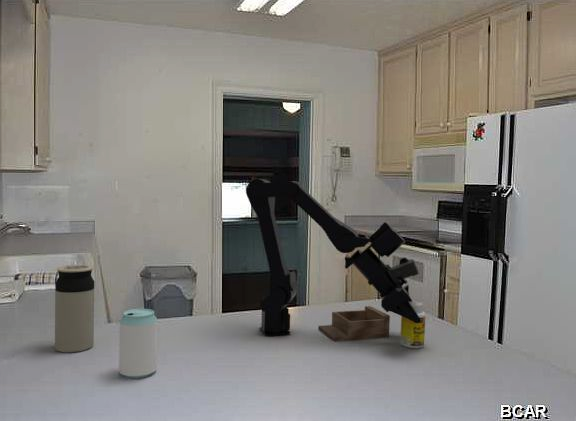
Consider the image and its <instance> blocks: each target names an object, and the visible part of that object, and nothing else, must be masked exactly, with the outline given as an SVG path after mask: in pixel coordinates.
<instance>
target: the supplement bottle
mask: <svg viewBox="0 0 576 421" xmlns="http://www.w3.org/2000/svg"><path fill="white" fill-rule="evenodd" d="M410 304H411V305H412V307H413V308H414V310H415V311H416V313H417V315H418V316H419V318H420V319H421V322H419V323H415V322H413V321H411V320H409V319H407V318H405V317H403V316H400V318H401V320H400V341H399V342H400V344H401V346H403V347H406V348H408V349H422V348H423V347H424V345H425V332H426V313H425V312H424V311H423V303H421V302H419V301H413V302H410Z"/></svg>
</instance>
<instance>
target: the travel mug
mask: <svg viewBox="0 0 576 421" xmlns="http://www.w3.org/2000/svg"><path fill="white" fill-rule="evenodd" d="M93 270H94V266H92V265H88V264H87V265H86V264H71V265H70V264H67V265H62V266H58V267H57V268H56V271H57V274H58V278H56V281H55V283H54V285H55V286H54V287H55V288H54V289H55V290H54V306H55V307H54V350H56V351H58V352H61V353H69V354H70V353H79V352H80V353H81V352H83V351H86V350H89V349H90V348H92V347H93V346H94V343H95V342H94V341H95V336H94V335H95V334H94V333H95V280H94V278H93V276H92V271H93Z"/></svg>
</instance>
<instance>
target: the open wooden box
mask: <svg viewBox="0 0 576 421" xmlns="http://www.w3.org/2000/svg"><path fill="white" fill-rule="evenodd" d="M331 316H332V317H331V324H327V325H318V328H317V329H319V330H318V331H320V332H321V333H322V332H323V333H322V334H324V335H325V336H326V335H327V336H326V337H328V338H329V339H330V340H332V341H333V342H343V341H344V342H345V341H346V342H347V341H358V340H370V339H382V338H390V320H391V317H390V316H391V315H389V314H388V313H386V312H384V311H381V310H379V309H377V308H375V307H373V306H371V305H368V306H367V305H365V306H364V309H357V310H356V309H355V310H343V311H331Z"/></svg>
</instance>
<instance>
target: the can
mask: <svg viewBox="0 0 576 421" xmlns="http://www.w3.org/2000/svg"><path fill="white" fill-rule="evenodd" d="M158 321H159V320H158V318H157V316H156V315H155V311H154V310H153V309H151V308H133V309H129V310H128V309H127V310H125V311H124V312H123V315H122V317H121V319H120V321H119V337H118V338H119V340H118V342H119V345H118V346H119V350H118V352H119V353H118V354H119V356H118V358H119V359H118V373H120V374H121V375H122V376H124V377H126V378H128V379H141V378H142V379H143V378H146V377H149V376H150V375H152V374H153V373H155V372H156V371H157V370H158V369H157V368H158V364H157V362H158Z"/></svg>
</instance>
